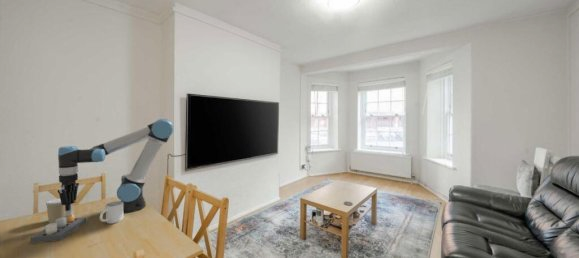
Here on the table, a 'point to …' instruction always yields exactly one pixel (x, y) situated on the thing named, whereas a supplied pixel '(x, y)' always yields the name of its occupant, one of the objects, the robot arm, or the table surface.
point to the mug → (113, 212)
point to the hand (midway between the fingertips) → (69, 215)
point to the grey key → (61, 222)
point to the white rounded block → (51, 229)
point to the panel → (59, 231)
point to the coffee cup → (55, 210)
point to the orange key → (70, 218)
